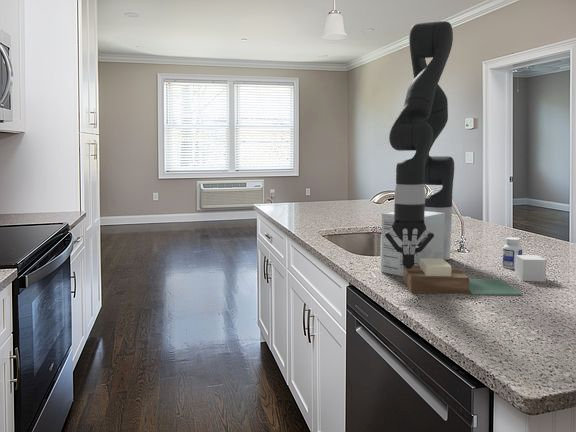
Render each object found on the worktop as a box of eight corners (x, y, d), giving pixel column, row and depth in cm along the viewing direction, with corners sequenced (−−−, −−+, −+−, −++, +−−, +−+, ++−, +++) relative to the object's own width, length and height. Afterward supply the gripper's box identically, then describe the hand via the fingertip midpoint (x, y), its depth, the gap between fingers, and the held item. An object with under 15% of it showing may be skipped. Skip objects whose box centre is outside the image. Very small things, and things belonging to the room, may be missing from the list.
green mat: (456, 280, 135) (456, 278, 135) (501, 280, 134) (501, 279, 134) (471, 294, 121) (472, 293, 121) (522, 295, 120) (522, 293, 120)
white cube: (514, 275, 140) (515, 254, 139) (536, 276, 139) (537, 255, 139) (522, 281, 134) (523, 259, 133) (545, 281, 133) (546, 259, 133)
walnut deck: (403, 280, 135) (403, 266, 135) (455, 281, 134) (456, 266, 134) (411, 293, 123) (411, 277, 123) (468, 293, 122) (469, 277, 122)
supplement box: (404, 264, 154) (405, 209, 152) (443, 271, 145) (445, 212, 142) (379, 272, 145) (380, 212, 143) (419, 280, 135) (421, 217, 133)
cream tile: (419, 267, 133) (420, 258, 133) (442, 267, 132) (442, 258, 132) (426, 275, 124) (427, 266, 124) (451, 276, 124) (451, 266, 123)
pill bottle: (516, 265, 152) (517, 236, 151) (524, 269, 147) (526, 239, 146) (499, 265, 152) (500, 237, 151) (507, 269, 147) (508, 240, 146)
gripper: (432, 200, 130) (430, 264, 132) (381, 200, 131) (380, 264, 133) (439, 203, 122) (437, 271, 124) (385, 203, 123) (383, 271, 125)
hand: (407, 267), depth 129 cm, fingers closed
